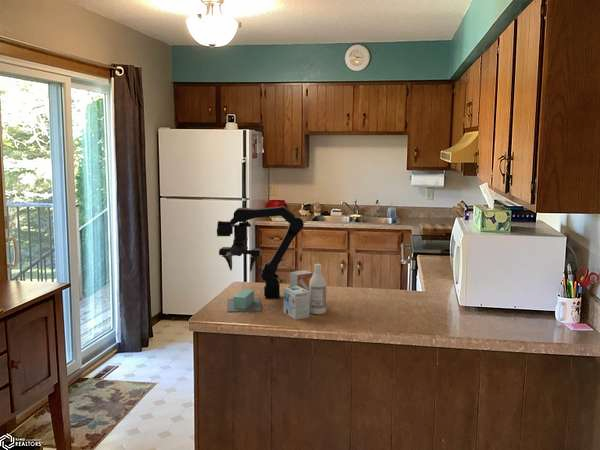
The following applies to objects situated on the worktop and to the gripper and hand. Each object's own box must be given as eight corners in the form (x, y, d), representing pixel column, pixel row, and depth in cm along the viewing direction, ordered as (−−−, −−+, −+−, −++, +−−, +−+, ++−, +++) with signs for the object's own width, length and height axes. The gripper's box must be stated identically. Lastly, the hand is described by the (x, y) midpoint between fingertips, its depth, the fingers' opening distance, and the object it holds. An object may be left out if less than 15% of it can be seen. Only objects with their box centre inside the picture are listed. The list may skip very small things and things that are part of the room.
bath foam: (328, 313, 221) (329, 265, 218) (312, 315, 219) (313, 266, 216) (321, 308, 228) (322, 262, 225) (306, 310, 225) (306, 263, 222)
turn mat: (259, 298, 241) (259, 298, 241) (261, 311, 224) (261, 310, 224) (227, 299, 240) (227, 298, 240) (226, 312, 222) (226, 311, 222)
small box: (297, 304, 234) (297, 274, 232) (289, 300, 239) (289, 272, 237) (312, 301, 238) (312, 272, 236) (304, 298, 243) (304, 269, 241)
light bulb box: (282, 312, 222) (283, 287, 221) (297, 310, 226) (297, 285, 224) (295, 320, 213) (295, 293, 212) (310, 317, 216) (310, 291, 215)
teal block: (242, 289, 237) (233, 296, 225) (253, 290, 236) (244, 297, 224) (242, 300, 238) (233, 308, 226) (253, 301, 236) (245, 309, 225)
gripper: (214, 238, 234) (214, 273, 237) (256, 240, 231) (256, 276, 233) (222, 234, 245) (223, 268, 247) (262, 236, 242) (262, 270, 244)
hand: (241, 270), depth 243 cm, fingers open, 9 cm apart
